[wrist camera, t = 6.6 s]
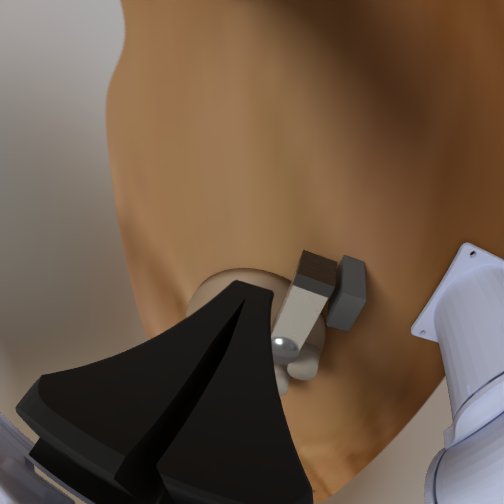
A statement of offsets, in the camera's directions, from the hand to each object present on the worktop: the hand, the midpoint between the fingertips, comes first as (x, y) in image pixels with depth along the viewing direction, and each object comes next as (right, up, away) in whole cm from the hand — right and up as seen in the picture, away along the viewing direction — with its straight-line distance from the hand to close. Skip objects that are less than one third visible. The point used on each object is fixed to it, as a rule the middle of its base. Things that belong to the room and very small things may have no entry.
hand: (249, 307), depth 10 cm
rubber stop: (+6, 0, +9) cm, 11 cm away
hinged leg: (+3, -1, +9) cm, 10 cm away
